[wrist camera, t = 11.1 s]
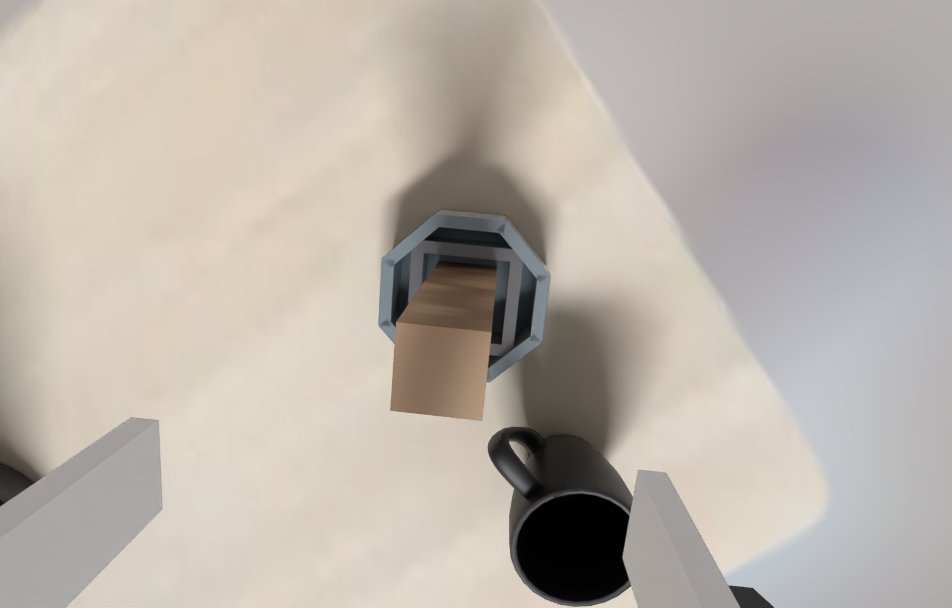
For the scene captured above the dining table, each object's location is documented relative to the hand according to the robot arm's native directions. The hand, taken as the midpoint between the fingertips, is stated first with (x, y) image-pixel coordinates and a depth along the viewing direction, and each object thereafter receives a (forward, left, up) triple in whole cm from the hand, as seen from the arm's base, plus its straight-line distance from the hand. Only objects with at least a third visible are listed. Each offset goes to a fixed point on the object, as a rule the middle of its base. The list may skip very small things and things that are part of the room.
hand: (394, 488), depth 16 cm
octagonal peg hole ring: (0, 0, -26) cm, 26 cm away
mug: (+7, -11, -26) cm, 29 cm away
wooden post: (0, 0, -25) cm, 25 cm away
